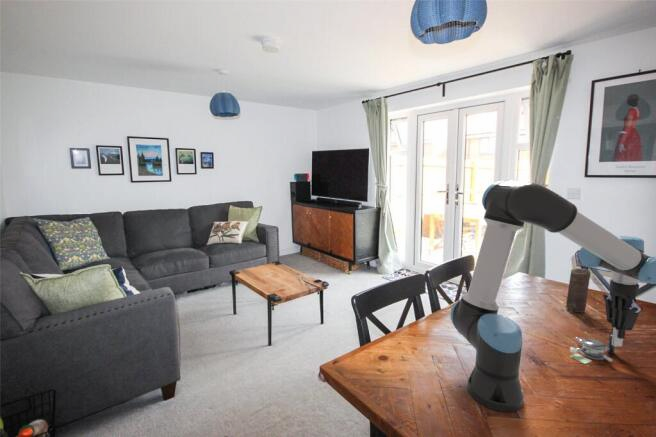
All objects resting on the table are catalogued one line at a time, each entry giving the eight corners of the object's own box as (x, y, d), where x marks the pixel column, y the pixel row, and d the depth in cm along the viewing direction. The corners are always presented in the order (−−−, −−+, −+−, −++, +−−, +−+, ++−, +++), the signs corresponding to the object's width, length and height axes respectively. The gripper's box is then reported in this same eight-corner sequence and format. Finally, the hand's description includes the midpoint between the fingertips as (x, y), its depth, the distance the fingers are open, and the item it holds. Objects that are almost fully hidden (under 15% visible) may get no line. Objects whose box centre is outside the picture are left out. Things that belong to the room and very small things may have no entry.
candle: (588, 315, 151) (594, 273, 147) (570, 314, 152) (575, 272, 149) (579, 308, 158) (584, 267, 155) (562, 306, 160) (567, 267, 156)
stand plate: (601, 375, 109) (601, 372, 109) (560, 355, 121) (560, 351, 120) (634, 360, 117) (634, 357, 117) (592, 342, 129) (593, 339, 128)
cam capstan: (632, 364, 113) (634, 346, 112) (585, 366, 111) (588, 348, 110) (594, 341, 127) (597, 325, 126) (553, 343, 126) (555, 327, 125)
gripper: (653, 287, 108) (644, 355, 111) (618, 275, 120) (611, 336, 124) (631, 288, 107) (622, 355, 111) (598, 275, 120) (591, 336, 124)
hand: (616, 345), depth 117 cm, fingers closed
